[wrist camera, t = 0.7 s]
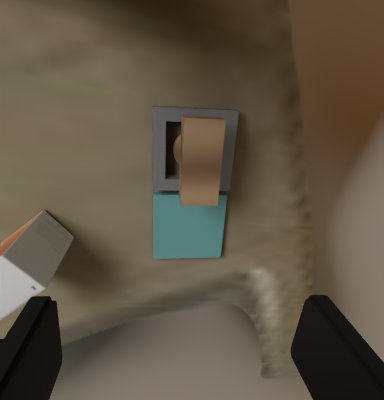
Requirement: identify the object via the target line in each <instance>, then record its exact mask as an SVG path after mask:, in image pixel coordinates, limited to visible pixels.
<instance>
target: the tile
mask: <svg viewBox="0 0 384 400" xmlns="http://www.w3.org/2000/svg"><path fill="white" fill-rule="evenodd" d="M226 203H227V194H226V193H219V196H218V206H181V204H180V199H179V192H153V259H176V258H213V257H221V248H222V239H223V230H224V221H225V212H226Z"/></svg>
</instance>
